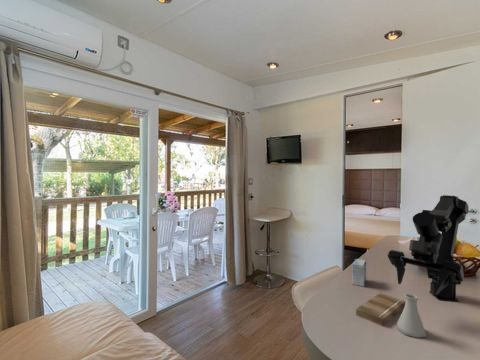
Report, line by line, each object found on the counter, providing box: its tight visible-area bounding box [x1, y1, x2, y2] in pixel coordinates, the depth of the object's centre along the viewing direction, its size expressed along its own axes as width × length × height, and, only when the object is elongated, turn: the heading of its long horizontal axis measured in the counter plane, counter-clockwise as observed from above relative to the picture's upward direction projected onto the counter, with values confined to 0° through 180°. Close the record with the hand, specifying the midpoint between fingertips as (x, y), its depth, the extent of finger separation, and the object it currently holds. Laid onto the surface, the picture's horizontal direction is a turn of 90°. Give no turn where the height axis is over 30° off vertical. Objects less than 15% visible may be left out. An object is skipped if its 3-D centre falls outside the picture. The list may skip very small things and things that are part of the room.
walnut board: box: [355, 292, 406, 327], centre depth 84 cm, size 18×8×2 cm, turn 129°
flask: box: [396, 293, 427, 338], centre depth 73 cm, size 7×7×10 cm
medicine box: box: [351, 258, 367, 288], centre depth 107 cm, size 8×4×9 cm, turn 148°
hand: (416, 288), depth 76 cm, fingers open, 9 cm apart
